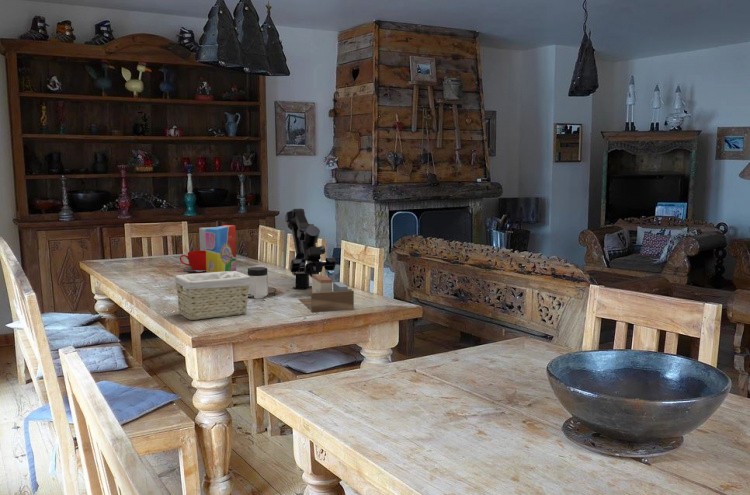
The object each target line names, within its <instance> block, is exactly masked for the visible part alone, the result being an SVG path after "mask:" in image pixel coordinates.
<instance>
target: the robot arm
mask: <svg viewBox="0 0 750 495" xmlns="http://www.w3.org/2000/svg"><path fill="white" fill-rule="evenodd" d="M305 213H306V212H305V210H304V209H303V208H292V209H291V210H289V211H287V212H286V213H285V216H284V221H285V223H286V225H287V228H288V229H290V230H291V234H292V238H293V244H294V249H295V257H294V258H293V259H291V261H290V266H289V269H290V272H291V274H292V275H293V276H295V283H294V284H295V286H293V287H292V289H296V290H307V289H310V288H311V289H312V285H310V277H311V278H312V274H320V273H322V272H323V268H324V270H325V271H335V269H336V265H337V259H336V257H326V258H325V260H321V259H322V257H321V256H322V255H324V254H325V253H326V247H325V245H319V246H317V245H316V244H317V243H318V240H319V237H320V233H321V230H320V228H319V227H317V226H315V225H314V223H309V222H308V221H309V220H308V219H307V217H306V214H305ZM320 260H321V261H320Z"/></svg>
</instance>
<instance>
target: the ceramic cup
mask: <svg viewBox="0 0 750 495" xmlns="http://www.w3.org/2000/svg"><path fill="white" fill-rule="evenodd" d="M182 257H185V258H186V259H187V261H188V263H185V262H184V261H183V260H182ZM179 261H180V263H181V264H183V265H185V266H188V267H190V268H191V269H192V270H193V271H194V270H206V251H200V250H193V251H188V252H187V255H186V254H183V255H182V254H181V255H180V256H179Z"/></svg>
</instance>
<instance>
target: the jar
mask: <svg viewBox="0 0 750 495" xmlns="http://www.w3.org/2000/svg"><path fill="white" fill-rule="evenodd" d="M247 275H248V276H250V285H249V288H248V294H251V295H254V298H255V300H258V299H259V300H260V299H266V296H267V295H269V275H268V268H267V267H265V266H254V267H253V266H252V267H248V268H247ZM254 298H253V299H254Z"/></svg>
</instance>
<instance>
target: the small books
mask: <svg viewBox="0 0 750 495" xmlns="http://www.w3.org/2000/svg"><path fill="white" fill-rule="evenodd" d="M351 290H353V288H351V287H349V285H346V284H345V283H343V282H341V281H338V282H337V281H334V282H333V281H332V292H334V291H351Z"/></svg>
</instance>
